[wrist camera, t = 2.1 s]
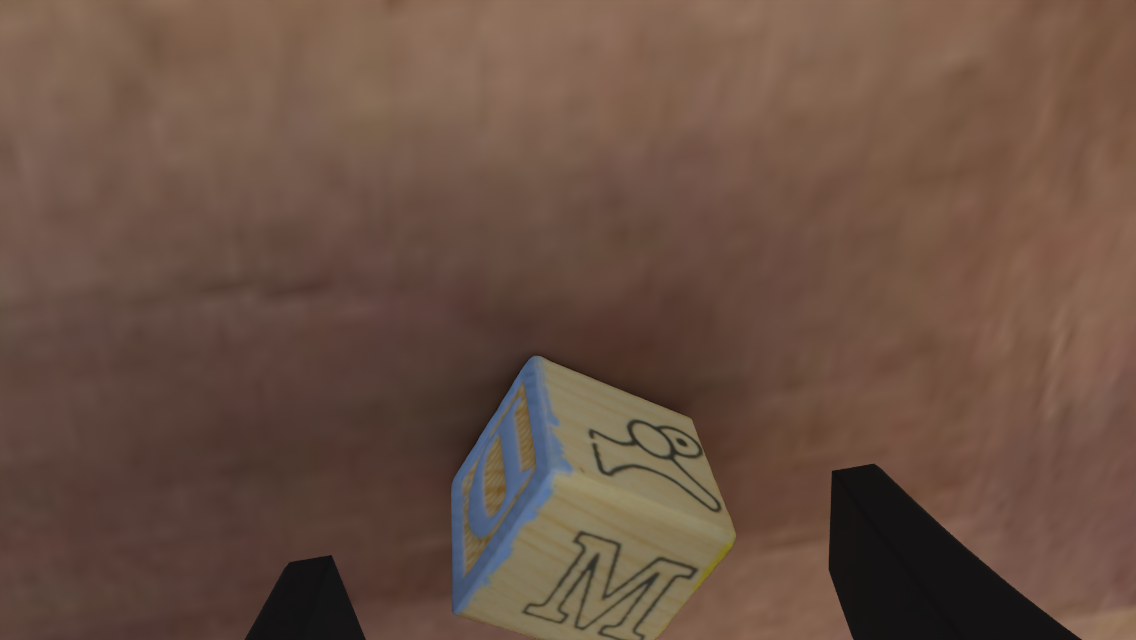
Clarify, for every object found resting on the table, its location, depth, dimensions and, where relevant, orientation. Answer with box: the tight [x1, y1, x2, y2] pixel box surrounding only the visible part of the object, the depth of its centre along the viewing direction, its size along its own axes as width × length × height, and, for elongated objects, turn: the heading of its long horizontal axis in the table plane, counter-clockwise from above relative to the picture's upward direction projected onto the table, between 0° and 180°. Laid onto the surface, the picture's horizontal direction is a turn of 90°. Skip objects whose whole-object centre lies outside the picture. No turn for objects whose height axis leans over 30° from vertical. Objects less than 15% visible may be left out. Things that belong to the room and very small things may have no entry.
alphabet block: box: [451, 356, 736, 640], centre depth 14 cm, size 3×3×3 cm
